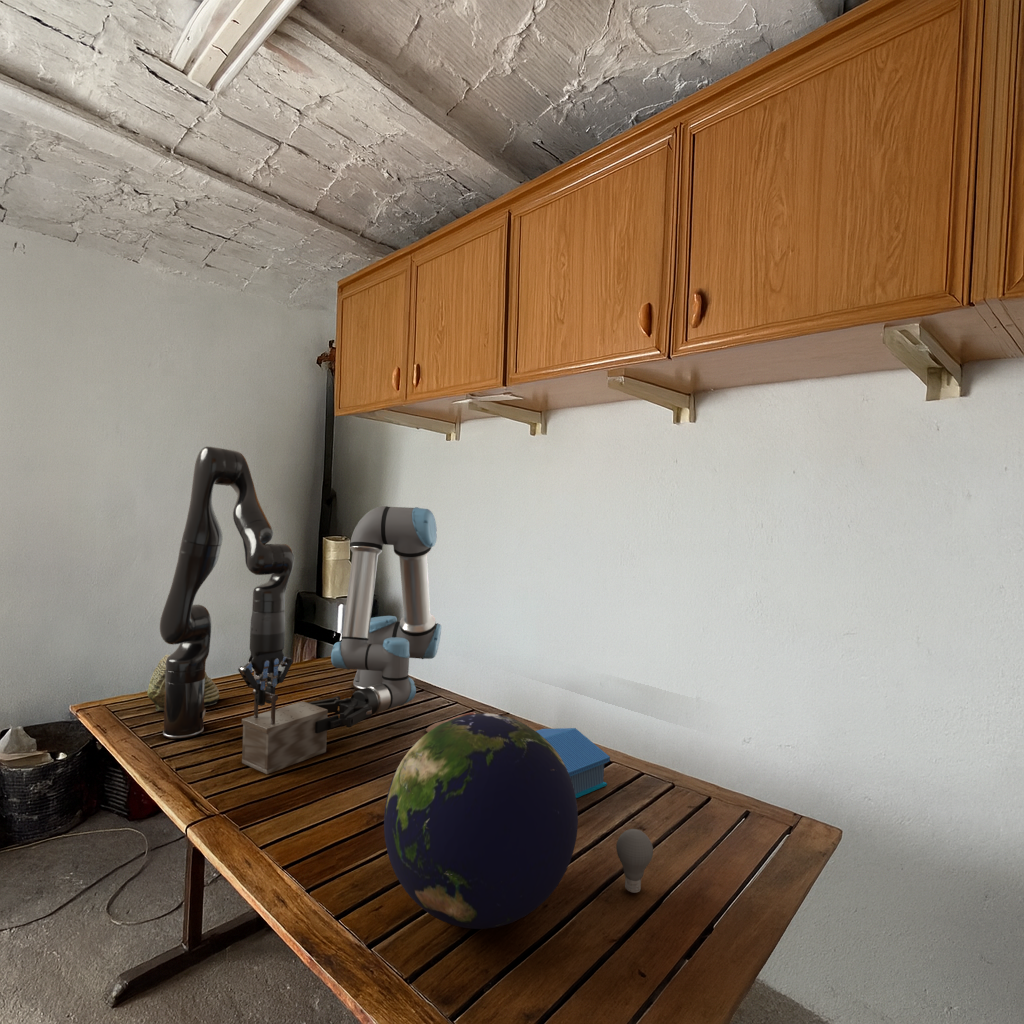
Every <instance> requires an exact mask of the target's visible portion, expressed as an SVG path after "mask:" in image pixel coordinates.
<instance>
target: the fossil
mask: <svg viewBox="0 0 1024 1024" xmlns="http://www.w3.org/2000/svg"><path fill="white" fill-rule="evenodd" d="M170 655H171V654H165V655H164V656H163V657H162V658H161V659H160V660H159V662H158V663H157V666H156V667H155V669H154V670H153V672H152V675H151V677H150V680H149V684H148V688H147V697H148V699H149V700H150V701H152V703H153V704H154V706H155V711H158V712H159V711H162V712H163V711H164V705H165V674H166V660H167V658H168V657H169V656H170ZM220 698H221V696H220V690H219V688H218V686H217V685H216V683H215V682H214V681H213V679H212V678H211V677H209V675H208V674H207V672H206V671H205V693H204V707H207V706H213V705H215V704H217V703H218V701H219V699H220Z"/></svg>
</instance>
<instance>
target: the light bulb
mask: <svg viewBox="0 0 1024 1024" xmlns="http://www.w3.org/2000/svg"><path fill="white" fill-rule="evenodd" d="M615 849H616V854H617V857H618V859H619V861H620V863H621V865H622V867H623V873H624V874H623V875H624V876H625V878H624V888H625V890H627V891H628V892H630V893H634V894H635V893H639V892H640V891H641V889H642V887H641V886H642V879H643V877H644V875H645V871H646V868H647V867H648V866H649V864H650V863H651V861H652V859H653V855H654V847H653V843H652V841H651V838H649V836H648V835H647V834H646V833H645V832H643V831H642V830H641V829H636V828H629V829H627V830H625V831H623V832H622V833H621V834H620V835H619V837H618V839H617V841H616V847H615Z"/></svg>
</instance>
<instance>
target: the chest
mask: <svg viewBox="0 0 1024 1024" xmlns="http://www.w3.org/2000/svg"><path fill="white" fill-rule="evenodd" d="M328 714H329V713H328ZM328 714H326V715H323V716H320V717H317V718H314V719H311V720H308V721H305V722H301V723H298V724H295V725H292V726H289V727H286V728H283V729H280V730H277V731H274V732H270V733H267V734H266V733H264V732H261V731H259V730H256V729H254V728H251V727H249V726H246V725H244V724H242V751H241V752H242V753H241V755H242V756H241V763H242V764H243V765H245V766H247V767H250V768H251V769H254V770H256V771H259V772H261V773H263V774H264V775H269V774H272V773H275V772H277V771H280V770H282V769H283V770H284V769H285V768H288V767H291V766H293V765H295V764H298V763H301V762H304V761H306V760H309V759H311V758H313V757H314V758H315V757H316V756H320V755H322V754H325V753H327V743H328V742H327V739H328V730H326V731H323V732H320V733H315V724H316V721H319V720H323V719H326V718H329V716H328Z"/></svg>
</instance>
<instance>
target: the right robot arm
mask: <svg viewBox="0 0 1024 1024" xmlns="http://www.w3.org/2000/svg"><path fill="white" fill-rule="evenodd" d="M437 531H438V530H437V521H436V518H435V515H434V512H433V511H431V510H430V509H429V508H423V507H422V508H421V507H419V506H418V507H417V506H415V507H406V506H405V507H403V506H388V505H381V506H377V507H374V508H372V509H370V510H369V511H368V512H366V513H365V514H363V516H362V517H361V518H360V520H359V521H358V522H357V523H356V525H355V527H354V530H353V531H352V535H351V538H350V544H349V550H350V551H351V553H352V555H351V564H350V572H349V579H348V580H349V581H348V587H347V595H346V603H345V612H344V619H343V621H344V622H343V627H342V636H341V637H342V638H341V641H337V642H335V643H334V644H333V646H332V650H331V654H330V661H331V665H332V666H333V667H334V668H336V669H344V670H348V671H349V670H356V673H355V674H354V675H355V676H354V677H353V678H354V679H353V683H352V688H353V689H354V690H355V691H354V692H353V693H352V695H351V696H350V697H345V698H343V699H341V696H339V695H336V696H333V697H331V698H325V699H320V700H315V701H308V702H306V703H309V704H312V705H315V706H318V707H321V708H324V709H327V710H328V714H333V713H334V714H335V715H332V716H328V717H327V718H326V719H323V720H319V721H316V724H315V733H320V732H323V731H326V730H327V731H328V730H331V729H334V728H337V727H345V726H346V728H351V727H353V726H355V725H357V724H358V723H360V722H362V721H364V720H365V719H368V718H371V717H372V716H374V715H379V713H382V712H385V711H387V710H390V709H393V708H396V707H397V708H398V707H400V706H401V707H402V706H403V705H405V704H407V703H409V702H411V701H412V700H413V699H414V698H415V696H416V694H417V687H416V685H415V681H414V680H413V679H412V678H411V677H410V676H409V672H410V671H409V670H410V669H409V667H410V659H419V660H420V659H421V660H426V659H428V660H431V659H434V658H435V657H436V656H437V653H438V650H439V646H440V641H441V636H442V635H441V634H442V625H441V623H439V622H438V623H436V622H437V621H436V617H435V615H433V614H432V613H431V602H430V601H431V600H430V599H431V598H430V583H429V565H428V563H429V562H428V554H429V553H430V552H431V551H432V548H433V547H435V545H436V543H437V539H438V536H437ZM384 545H386V546H392V547H393V552H394V554H395V555H396V556H398V558H399V572H400V582H401V583H400V584H401V594H402V607H403V616H402V617H401V619H400V621H399V620H398V618H397V616H395V615H381V616H375V617H372V613H373V612H372V611H373V604H374V594H375V586H376V577H377V568H378V560H379V555H380V554H381V553H383V546H384Z"/></svg>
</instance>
